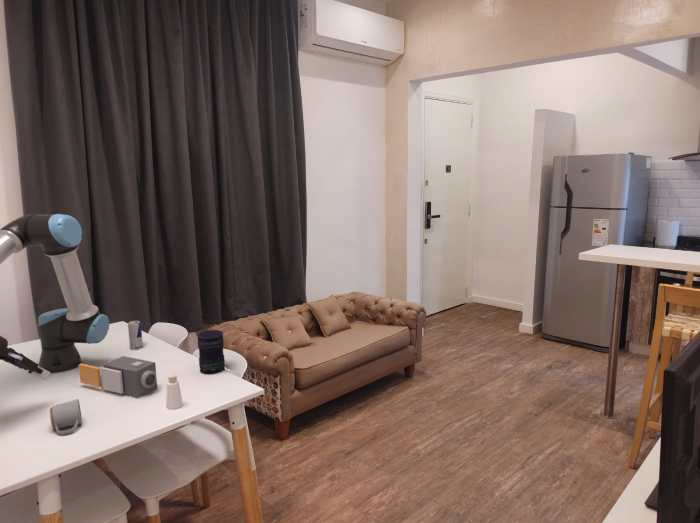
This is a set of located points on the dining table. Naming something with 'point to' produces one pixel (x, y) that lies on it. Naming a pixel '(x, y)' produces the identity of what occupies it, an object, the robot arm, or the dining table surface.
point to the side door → (101, 377)
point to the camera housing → (135, 375)
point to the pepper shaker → (173, 393)
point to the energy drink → (135, 335)
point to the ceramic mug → (66, 416)
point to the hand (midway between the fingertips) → (46, 375)
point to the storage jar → (211, 352)
